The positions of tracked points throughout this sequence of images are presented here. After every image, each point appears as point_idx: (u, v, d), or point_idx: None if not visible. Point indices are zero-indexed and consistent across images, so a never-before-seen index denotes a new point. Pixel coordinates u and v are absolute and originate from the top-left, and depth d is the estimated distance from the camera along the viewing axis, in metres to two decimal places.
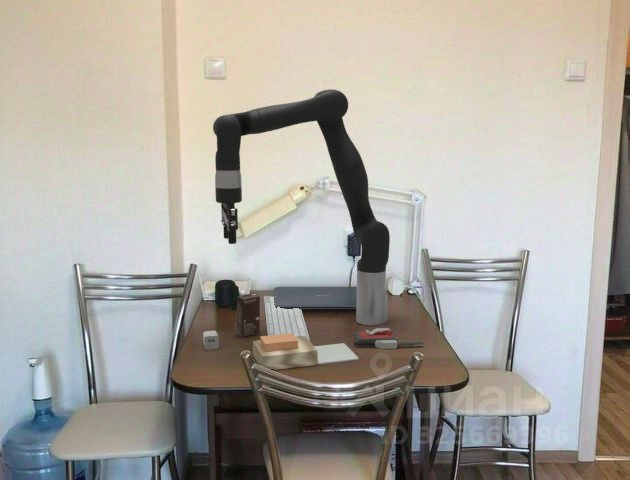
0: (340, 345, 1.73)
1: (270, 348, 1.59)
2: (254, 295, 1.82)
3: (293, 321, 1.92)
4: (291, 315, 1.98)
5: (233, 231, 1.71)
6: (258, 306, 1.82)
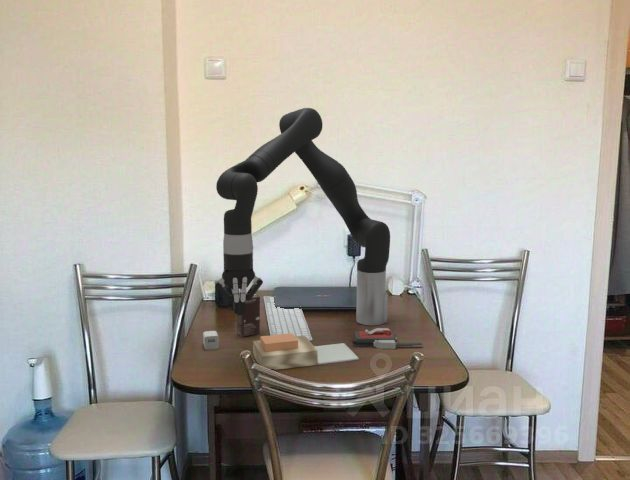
0: (340, 345, 1.73)
1: (270, 348, 1.59)
2: (254, 295, 1.82)
3: (294, 321, 1.92)
4: (292, 315, 1.98)
5: None
6: (258, 306, 1.82)
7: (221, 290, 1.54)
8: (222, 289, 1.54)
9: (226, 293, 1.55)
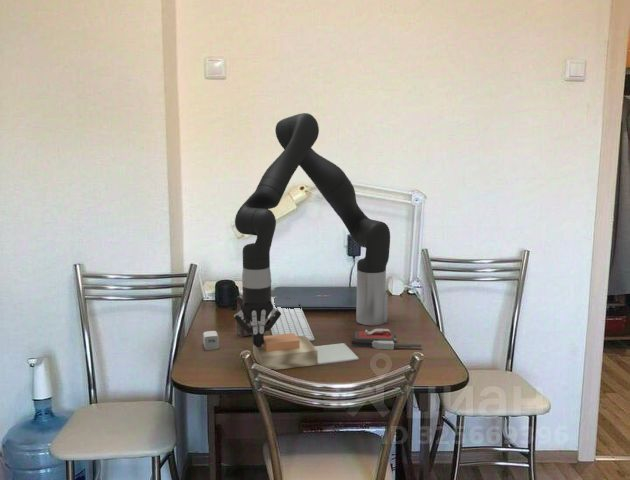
0: (340, 345, 1.73)
1: (272, 348, 1.59)
2: None
3: (296, 321, 1.93)
4: (293, 315, 1.99)
5: None
6: None
7: (240, 323, 1.57)
8: (241, 322, 1.57)
9: (245, 325, 1.58)
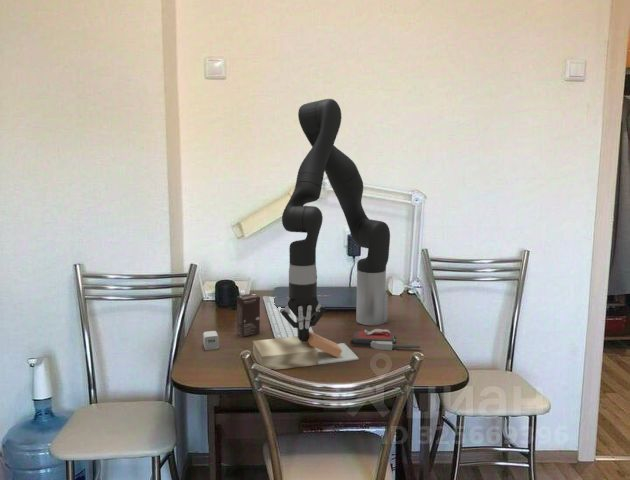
0: (340, 345, 1.73)
1: (316, 344, 1.62)
2: (254, 295, 1.82)
3: None
4: (293, 315, 1.99)
5: None
6: (258, 306, 1.82)
7: (287, 318, 1.61)
8: (288, 317, 1.61)
9: (291, 321, 1.61)
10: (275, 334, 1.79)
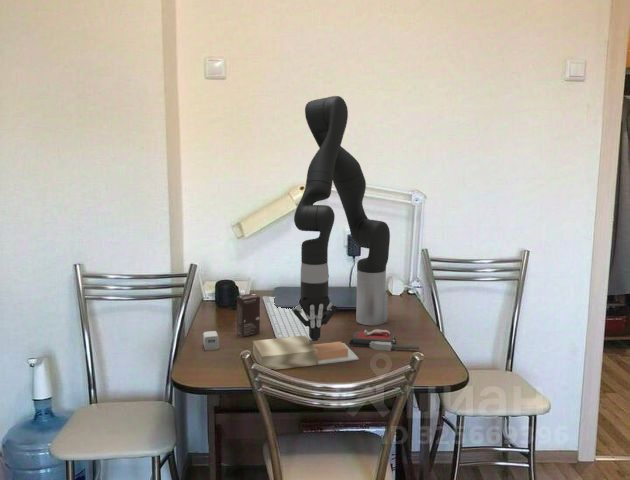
0: None
1: (322, 357, 1.63)
2: (254, 295, 1.82)
3: (297, 321, 1.93)
4: (294, 315, 1.99)
5: None
6: (258, 306, 1.82)
7: (299, 316, 1.62)
8: (300, 316, 1.62)
9: (303, 319, 1.62)
10: (276, 334, 1.79)
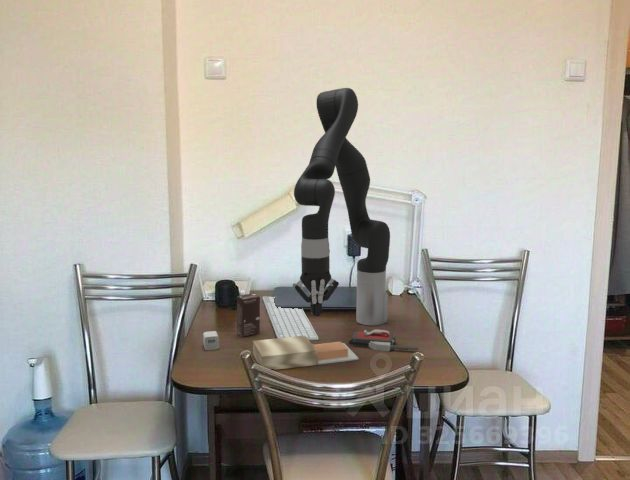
0: None
1: (322, 357, 1.63)
2: (254, 295, 1.82)
3: (298, 320, 1.93)
4: (294, 315, 1.99)
5: None
6: (258, 306, 1.82)
7: (300, 292, 1.60)
8: (301, 291, 1.60)
9: (305, 295, 1.61)
10: (277, 334, 1.79)
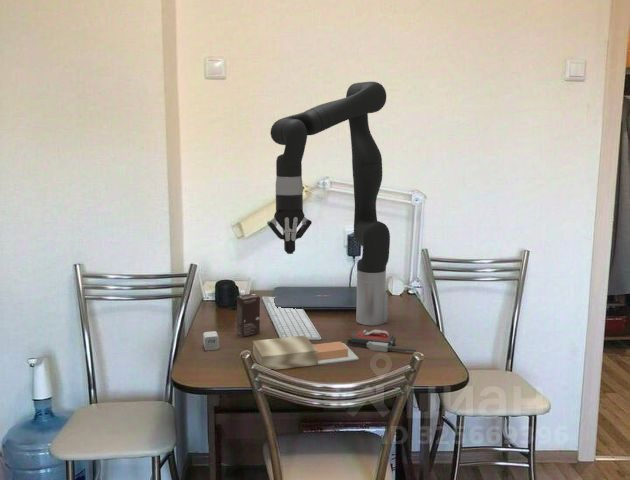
0: None
1: (322, 357, 1.63)
2: (254, 295, 1.82)
3: (299, 320, 1.93)
4: (295, 314, 1.99)
5: None
6: (258, 306, 1.82)
7: (274, 229, 1.67)
8: (275, 228, 1.67)
9: (278, 232, 1.67)
10: (280, 334, 1.79)
